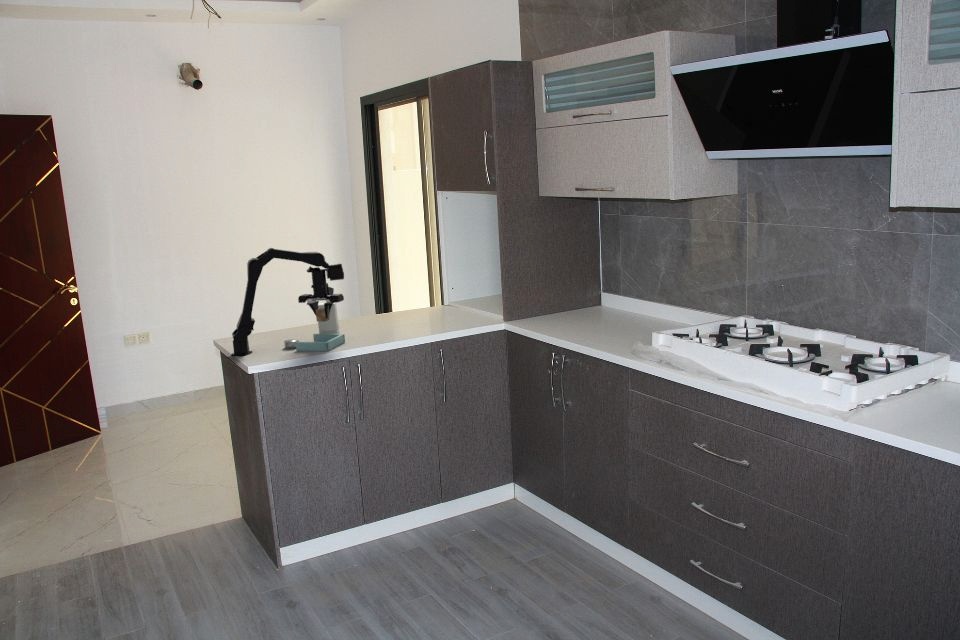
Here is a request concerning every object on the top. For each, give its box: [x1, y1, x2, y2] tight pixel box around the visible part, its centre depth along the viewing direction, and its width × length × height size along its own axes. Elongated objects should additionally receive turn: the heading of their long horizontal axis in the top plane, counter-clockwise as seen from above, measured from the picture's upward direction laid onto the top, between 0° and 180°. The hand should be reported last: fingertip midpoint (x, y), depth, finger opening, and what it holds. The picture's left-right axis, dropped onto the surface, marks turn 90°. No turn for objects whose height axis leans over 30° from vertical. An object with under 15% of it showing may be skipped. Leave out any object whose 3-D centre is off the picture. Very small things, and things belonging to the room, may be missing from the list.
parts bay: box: [295, 333, 346, 352], centre depth 336 cm, size 16×14×4 cm
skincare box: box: [317, 302, 341, 334], centre depth 351 cm, size 8×7×16 cm
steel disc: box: [283, 338, 300, 350], centre depth 336 cm, size 6×6×3 cm
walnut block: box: [315, 308, 330, 323], centre depth 338 cm, size 4×4×5 cm
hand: (322, 318), depth 338 cm, fingers closed on walnut block, 4 cm apart
